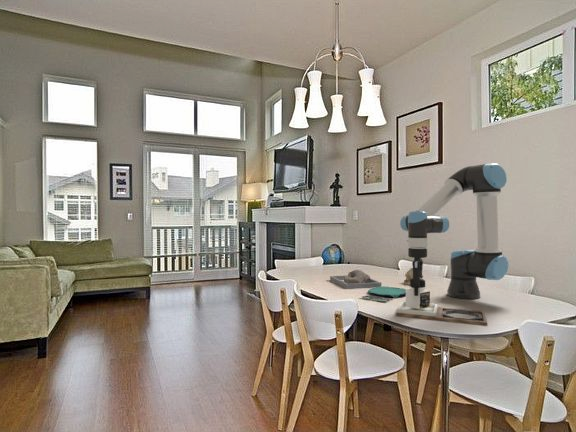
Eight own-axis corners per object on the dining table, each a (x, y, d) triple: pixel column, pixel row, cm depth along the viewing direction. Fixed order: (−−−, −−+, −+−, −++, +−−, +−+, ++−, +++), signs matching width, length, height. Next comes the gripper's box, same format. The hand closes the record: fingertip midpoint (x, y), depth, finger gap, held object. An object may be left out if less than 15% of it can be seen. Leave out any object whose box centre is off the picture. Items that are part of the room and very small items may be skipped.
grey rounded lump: (362, 299, 219) (364, 281, 232) (371, 290, 214) (372, 273, 227) (339, 285, 218) (341, 268, 230) (347, 276, 213) (349, 259, 225)
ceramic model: (400, 282, 227) (400, 266, 227) (416, 281, 230) (416, 265, 230) (412, 287, 214) (412, 269, 214) (430, 286, 216) (430, 268, 216)
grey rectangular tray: (361, 278, 241) (361, 274, 241) (381, 286, 214) (381, 282, 214) (330, 280, 236) (330, 276, 236) (346, 288, 209) (346, 284, 209)
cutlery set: (414, 293, 197) (414, 288, 197) (389, 305, 174) (389, 300, 174) (379, 289, 210) (379, 284, 210) (351, 299, 187) (351, 295, 187)
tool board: (484, 313, 157) (484, 307, 157) (487, 325, 140) (487, 318, 140) (402, 305, 170) (402, 300, 170) (396, 315, 154) (396, 309, 154)
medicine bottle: (420, 310, 154) (419, 280, 154) (405, 306, 160) (405, 278, 160) (430, 307, 158) (430, 278, 158) (415, 304, 164) (415, 276, 164)
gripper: (411, 245, 170) (411, 294, 170) (405, 249, 150) (405, 305, 150) (428, 245, 167) (429, 296, 167) (424, 250, 147) (425, 307, 147)
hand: (417, 300), depth 159 cm, fingers closed on medicine bottle, 9 cm apart
